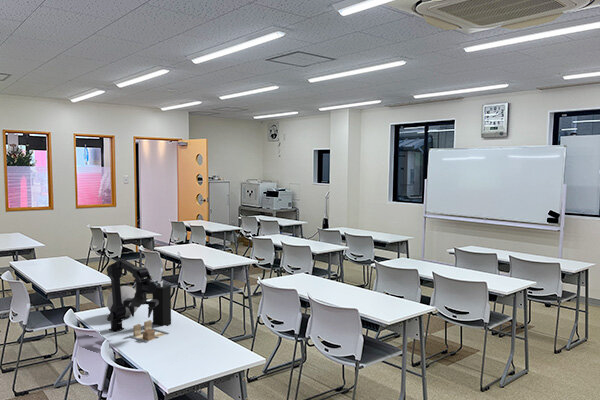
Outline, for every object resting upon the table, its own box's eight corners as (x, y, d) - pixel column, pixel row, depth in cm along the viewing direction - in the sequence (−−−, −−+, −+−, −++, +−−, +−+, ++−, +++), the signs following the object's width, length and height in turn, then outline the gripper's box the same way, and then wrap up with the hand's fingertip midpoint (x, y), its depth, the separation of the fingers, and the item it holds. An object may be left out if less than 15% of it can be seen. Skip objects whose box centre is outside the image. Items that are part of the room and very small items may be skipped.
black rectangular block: (152, 326, 278) (152, 281, 276) (161, 322, 285) (160, 278, 283) (163, 328, 275) (162, 283, 273) (171, 324, 282) (170, 280, 280)
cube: (142, 339, 254) (142, 331, 253) (149, 336, 257) (149, 329, 257) (148, 340, 251) (148, 332, 251) (154, 338, 255) (154, 330, 255)
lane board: (129, 339, 257) (129, 336, 257) (151, 331, 270) (151, 327, 270) (146, 345, 249) (146, 341, 249) (169, 336, 263) (169, 332, 262)
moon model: (138, 320, 289) (137, 289, 288) (104, 322, 284) (104, 291, 283) (141, 310, 308) (141, 281, 307) (110, 312, 304) (109, 283, 303)
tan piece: (132, 337, 258) (132, 326, 257) (140, 335, 262) (139, 323, 262) (148, 342, 251) (148, 330, 250) (155, 339, 255) (155, 327, 255)
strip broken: (143, 333, 264) (143, 322, 264) (150, 331, 268) (150, 319, 268) (158, 338, 257) (158, 326, 257) (165, 335, 262) (165, 324, 261)
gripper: (118, 293, 249) (118, 321, 251) (151, 295, 248) (151, 323, 250) (127, 288, 260) (127, 314, 262) (159, 289, 259) (159, 316, 261)
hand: (140, 317), depth 258 cm, fingers open, 9 cm apart
